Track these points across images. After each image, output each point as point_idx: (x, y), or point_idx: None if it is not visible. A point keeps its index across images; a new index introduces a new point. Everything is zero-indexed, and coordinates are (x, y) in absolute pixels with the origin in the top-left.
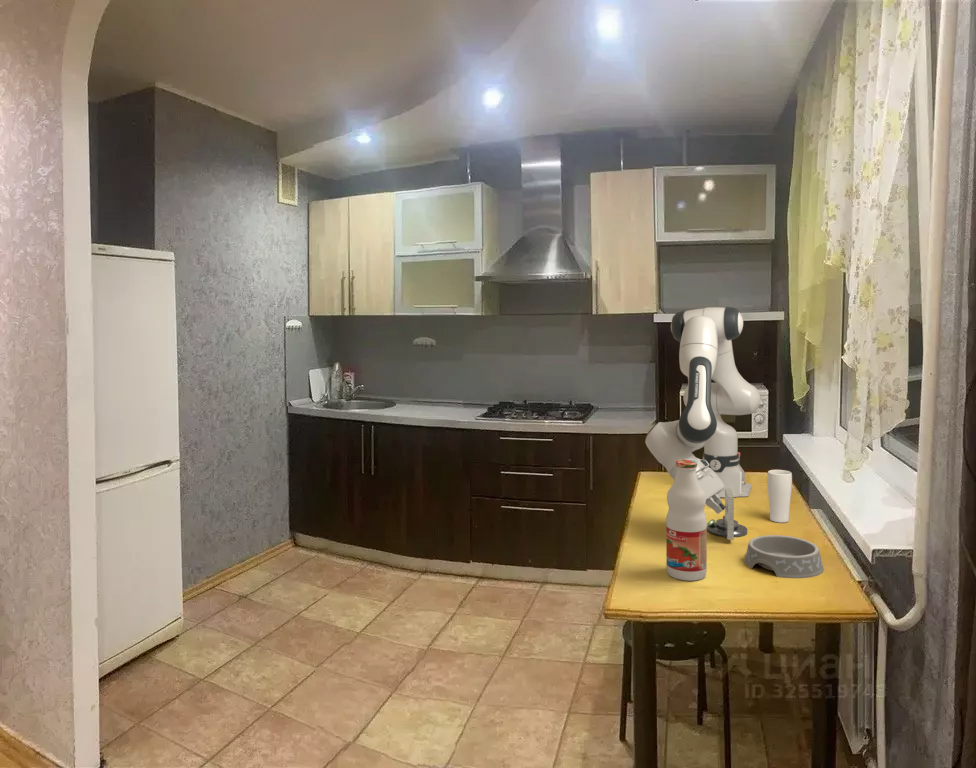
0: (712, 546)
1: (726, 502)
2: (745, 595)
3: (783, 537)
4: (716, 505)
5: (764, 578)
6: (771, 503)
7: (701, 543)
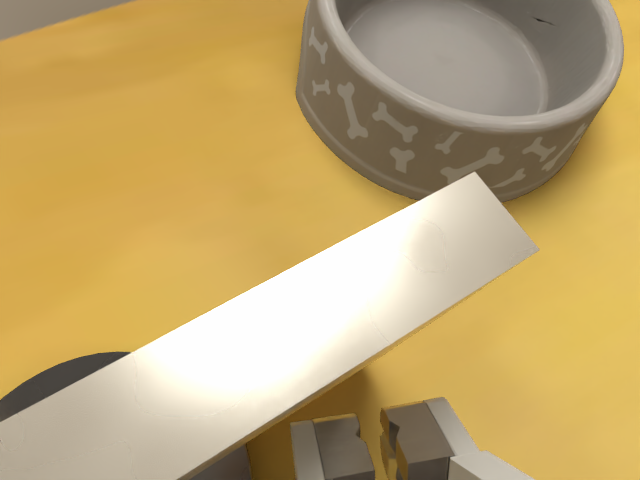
0: (472, 416)
1: (307, 400)
2: None
3: (346, 33)
4: (498, 463)
5: (617, 81)
6: None
7: None
